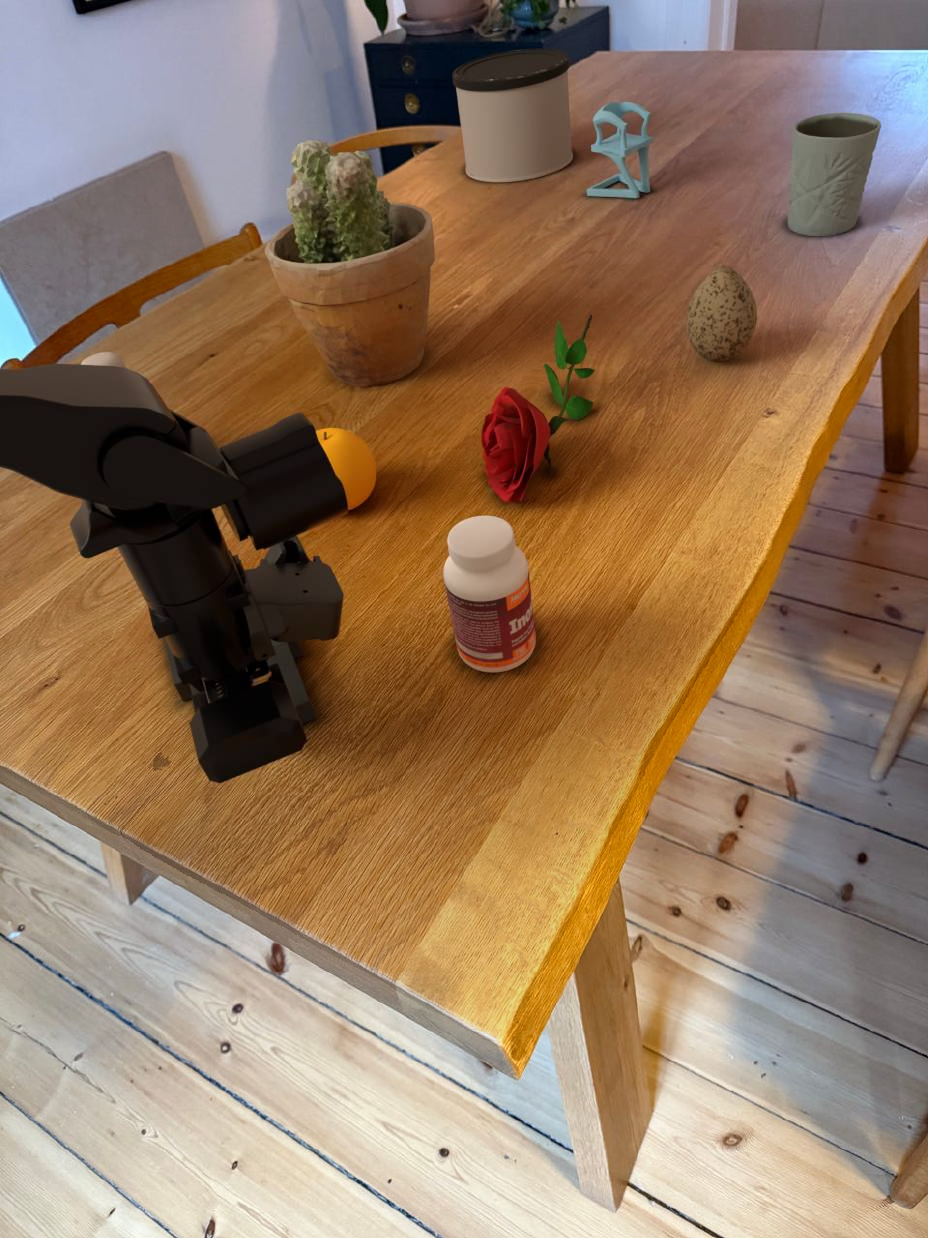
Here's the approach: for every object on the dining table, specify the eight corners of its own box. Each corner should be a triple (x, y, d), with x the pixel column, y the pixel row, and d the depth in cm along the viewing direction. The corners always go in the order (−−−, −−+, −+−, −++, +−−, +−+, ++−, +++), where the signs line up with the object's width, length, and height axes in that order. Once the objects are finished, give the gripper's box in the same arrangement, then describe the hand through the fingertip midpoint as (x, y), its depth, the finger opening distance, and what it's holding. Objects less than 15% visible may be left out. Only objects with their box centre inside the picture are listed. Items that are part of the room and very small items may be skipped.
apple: (292, 526, 85) (270, 460, 80) (313, 478, 91) (294, 413, 85) (373, 524, 83) (356, 456, 78) (390, 475, 89) (374, 409, 84)
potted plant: (272, 376, 108) (202, 155, 91) (385, 314, 116) (340, 101, 99) (369, 419, 97) (311, 179, 80) (485, 348, 106) (455, 116, 89)
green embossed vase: (776, 214, 123) (785, 118, 114) (852, 204, 121) (867, 106, 113) (792, 242, 115) (804, 141, 107) (874, 232, 114) (892, 130, 106)
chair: (627, 204, 133) (626, 115, 125) (585, 195, 138) (582, 109, 130) (660, 186, 136) (661, 99, 128) (618, 179, 141) (617, 94, 133)
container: (525, 188, 144) (516, 83, 134) (442, 175, 155) (428, 77, 144) (596, 150, 153) (592, 49, 143) (513, 140, 163) (504, 45, 153)
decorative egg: (754, 373, 93) (762, 280, 87) (684, 375, 95) (687, 283, 88) (752, 340, 98) (760, 250, 92) (685, 342, 100) (688, 254, 93)
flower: (560, 257, 94) (475, 432, 76) (640, 297, 94) (575, 480, 76) (529, 325, 101) (445, 500, 83) (604, 362, 101) (537, 543, 83)
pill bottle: (530, 678, 67) (516, 566, 59) (450, 673, 68) (426, 563, 61) (542, 620, 71) (530, 509, 63) (466, 617, 72) (446, 508, 65)
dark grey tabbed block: (213, 759, 65) (204, 742, 64) (191, 673, 72) (182, 656, 71) (316, 718, 67) (310, 700, 65) (285, 638, 74) (279, 620, 72)
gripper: (356, 617, 49) (409, 787, 59) (278, 459, 62) (332, 621, 73) (158, 693, 47) (249, 855, 57) (120, 513, 60) (200, 671, 71)
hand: (263, 737), depth 65 cm, fingers closed
